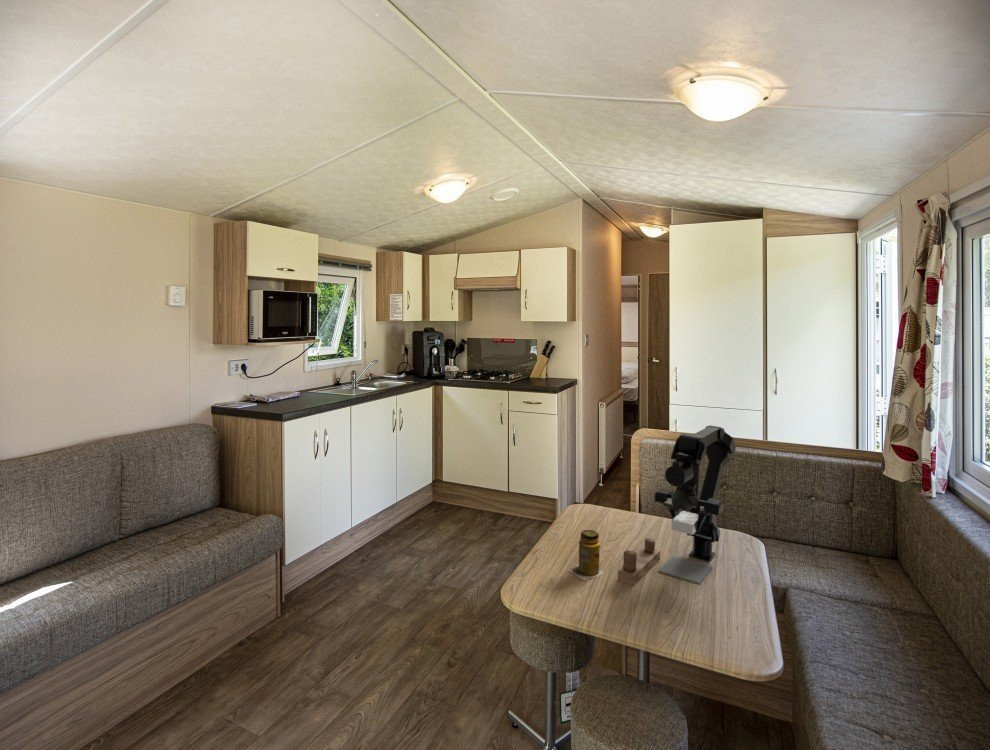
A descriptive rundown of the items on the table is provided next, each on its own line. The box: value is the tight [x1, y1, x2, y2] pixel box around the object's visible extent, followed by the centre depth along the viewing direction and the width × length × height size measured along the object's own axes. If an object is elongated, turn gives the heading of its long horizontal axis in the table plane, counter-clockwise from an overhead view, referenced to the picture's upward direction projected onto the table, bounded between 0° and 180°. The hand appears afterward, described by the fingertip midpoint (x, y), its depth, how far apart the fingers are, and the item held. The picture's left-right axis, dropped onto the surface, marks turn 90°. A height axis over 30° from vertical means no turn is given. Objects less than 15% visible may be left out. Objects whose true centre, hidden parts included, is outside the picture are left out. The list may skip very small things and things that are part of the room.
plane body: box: [617, 537, 661, 586], centre depth 159 cm, size 20×5×8 cm, turn 142°
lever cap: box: [671, 510, 698, 535], centre depth 157 cm, size 9×6×3 cm, turn 142°
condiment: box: [567, 529, 606, 581], centre depth 157 cm, size 7×8×12 cm
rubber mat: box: [658, 555, 713, 585], centre depth 159 cm, size 12×12×1 cm
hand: (687, 528), depth 157 cm, fingers closed on lever cap, 6 cm apart
